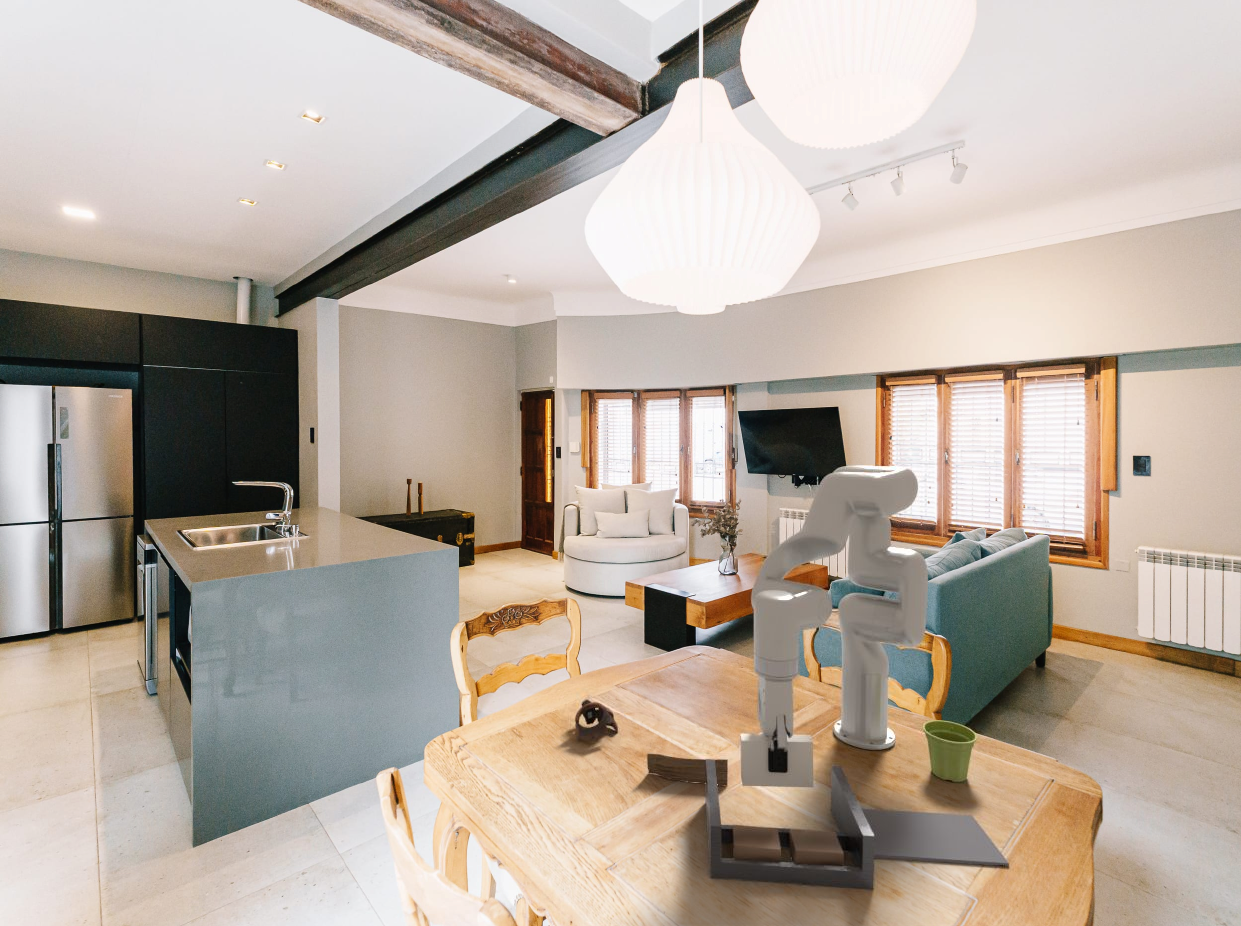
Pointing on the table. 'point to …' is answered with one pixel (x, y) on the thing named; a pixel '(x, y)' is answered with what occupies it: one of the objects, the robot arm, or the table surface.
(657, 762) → the wood plank
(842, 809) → the rack
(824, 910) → the table surface
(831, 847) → the offcut
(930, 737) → the plant pot
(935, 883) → the table surface
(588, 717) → the pottery mug
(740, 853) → the offcut
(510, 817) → the table surface
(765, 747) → the white rectangular brick
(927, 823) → the mat
